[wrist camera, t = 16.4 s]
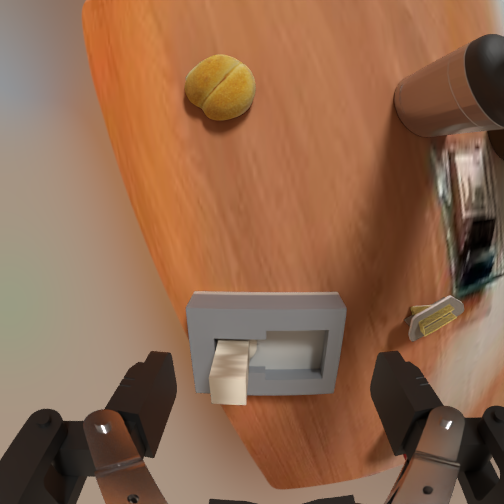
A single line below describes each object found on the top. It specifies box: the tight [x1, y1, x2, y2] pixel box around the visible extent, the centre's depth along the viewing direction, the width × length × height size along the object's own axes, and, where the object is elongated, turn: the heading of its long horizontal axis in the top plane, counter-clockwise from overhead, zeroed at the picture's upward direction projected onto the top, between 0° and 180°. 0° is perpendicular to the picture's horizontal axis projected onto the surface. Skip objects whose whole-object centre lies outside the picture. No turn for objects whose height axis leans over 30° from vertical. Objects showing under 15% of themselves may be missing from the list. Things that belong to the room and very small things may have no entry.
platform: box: [404, 296, 464, 342], centre depth 39 cm, size 12×18×7 cm, turn 116°
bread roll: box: [185, 55, 256, 120], centre depth 34 cm, size 8×9×4 cm
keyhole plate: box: [186, 291, 347, 395], centre depth 42 cm, size 20×14×6 cm
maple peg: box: [209, 339, 257, 405], centre depth 38 cm, size 6×6×12 cm
